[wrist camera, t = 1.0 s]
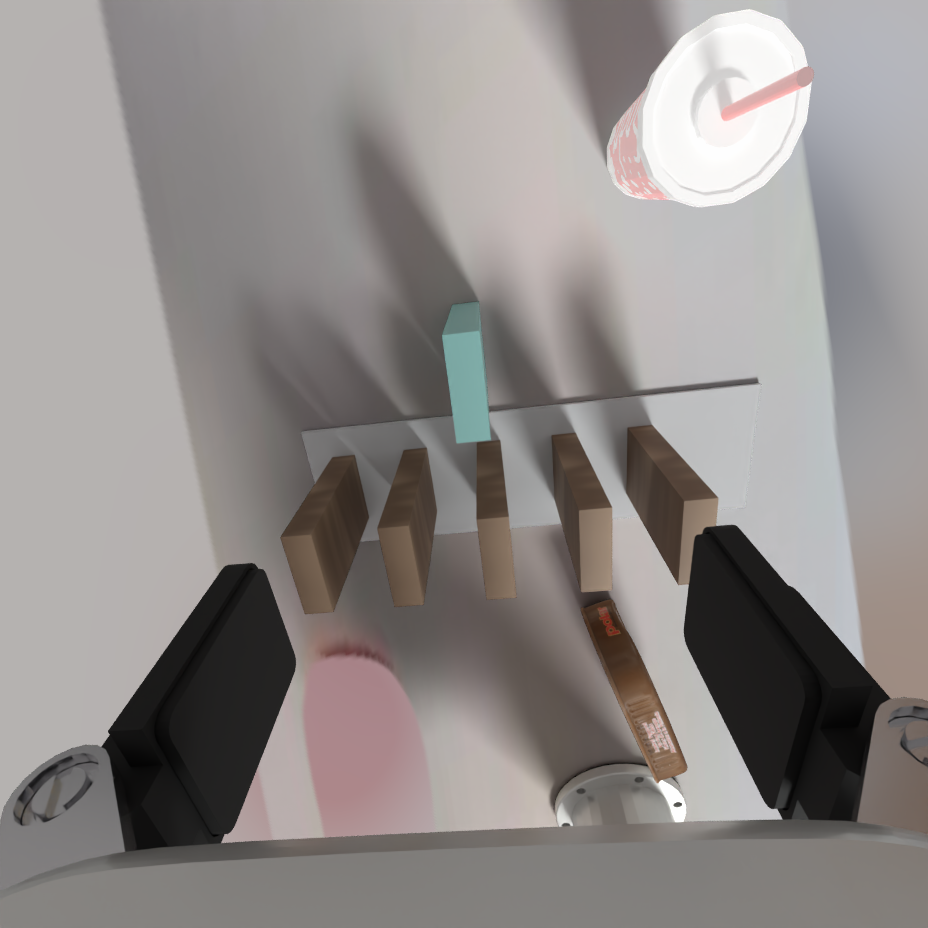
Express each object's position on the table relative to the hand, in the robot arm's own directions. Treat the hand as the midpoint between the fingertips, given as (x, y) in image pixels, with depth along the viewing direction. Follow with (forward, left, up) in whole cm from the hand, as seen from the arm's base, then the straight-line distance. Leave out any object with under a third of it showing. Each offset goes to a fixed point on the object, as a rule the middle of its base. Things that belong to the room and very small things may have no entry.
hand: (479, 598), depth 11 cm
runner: (-8, +4, -23) cm, 24 cm away
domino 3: (+1, 0, -23) cm, 23 cm away
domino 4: (-6, +5, -23) cm, 24 cm away
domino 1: (+1, +13, -23) cm, 26 cm away
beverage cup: (0, -14, -23) cm, 27 cm away
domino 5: (-9, +2, -23) cm, 24 cm away
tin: (-25, +11, -23) cm, 35 cm away
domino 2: (-3, +9, -23) cm, 24 cm away
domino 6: (-13, -2, -23) cm, 26 cm away
